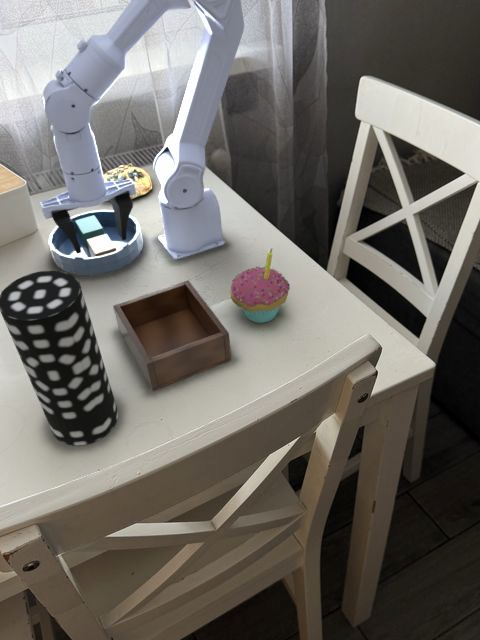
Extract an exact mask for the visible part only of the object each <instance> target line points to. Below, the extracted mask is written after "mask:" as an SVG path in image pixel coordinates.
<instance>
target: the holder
mask: <svg viewBox="0 0 480 640" xmlns="http://www.w3.org/2000/svg"><path fill="white" fill-rule="evenodd" d="M112 309H113V312H114V315H115V316H114V317H115V320H116V323H117V327H118V331H119V333H120V335H121V337H122V339H123V341H124V342H125V344H126V346H127V348H128V349H129V351H130V353H131V354H132V357H133V359H134V361H135V362H136V364H137V366H138V368H139V369H140V371H141V373H142V374H143V377H144V379H145V380H146V382H147V384H148V386H149V387H150V388H151V390H152V392H154V391H157V390H159V389H162V388H164V387H167V386H170V385H171V384H174V383H177V382H179V381H183V380H185V379H187V378H190V377H193V376H195V375H197V374H200V373H202V372H205V371H207V370H210V369H213V368H215V367H218V366H220V365H223V364H225V363H228V362H231V361H232V351H231V341H230V333H229V331H228V330H227V328H226V327H225V326H224V324H223V323H222V322H221V321H220V320H219V318H218V317H217V316H216V314H215V313H214V311H213V310H212V308H210V306H209V305H208V303H206V301H205V299H203V298H202V296H201V295H200V293H199V292H198V291H197V289H196V288H195V287H194V286H193V284H192V283H191V282H190V280H189V279H187V280H184V281H182V282H179V283H176V284H173V285H170V286H167V287H164V288H161V289H158V290H156V291H152V292H150V293H146V294H143V295H141V296H137V297H135V298H132V299H131V298H130V299H128V300H125V301H123V302H120V303H116V304H114V305H112Z"/></svg>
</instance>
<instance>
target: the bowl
mask: <svg viewBox="0 0 480 640" xmlns="http://www.w3.org/2000/svg"><path fill="white" fill-rule="evenodd" d="M93 215H94V216H95V217H96V219H97V220H98V222H99V223H100V225H101V226H102V228H103V231H104V234H107V235H108V237H109V238H110V240H111V241H112V243H113V244H114V246H115V247H116V251H115V252H112V253H108V254H105V255H102V256H95V257H92V256H91V255H90V251H89V248H88V249H87V248H86V246H85V244H84V243H83V241H82V239H81V238H80V236H79V233H78V230H77V226H76V223H75V220H79V219H83V218H86V217H90V216H93ZM70 218H71V219H72V221H73V224H74V229H75V234H76V238H77V240H78V243H79V246H80V248H81V253H78V254H77V253H76V251H75V249H74V247H73V244H72V242H71V241H70V239H69V238H68V237H67V235H66V234H65V233H64V232H63V231H62V230H61V229H60V228H59V227H58V226H57V225H56V226H55V227H54V228H53V229H52V231H51V232H50V233H49V235H48V241H47V243H48V247H49V250H50V253H51V256H52V260H53V261H54V263H55V265H56V266H57V267H58V268H59V269H61V271H63V272H66V273H69V274H71V275H79V276H97V275H103V274H109V273H113V272H115V271H118V270H120V269H122V268H124V267H126V266H128V265H130V264H131V263H133V262H134V261H135V260H136V259H137V258H138V257H139V256H140V254H141V253H142V251H143V248H144V239H143V235H142V229H141V225H140V223H139V221H138V220H137V218H136V217H134V216H133V215H131V214H130V215H129V219H128V223H127V232H126V238H127V239H125V240H122V238H121V237H120V236H119V233H118V230H117V225H116V218H115V213H114V210H113V209H99V210H98V209H97V210H90V211H85V212H82V213H78V214H75V215H73V216H70Z"/></svg>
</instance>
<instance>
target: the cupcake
mask: <svg viewBox="0 0 480 640" xmlns="http://www.w3.org/2000/svg"><path fill="white" fill-rule="evenodd" d="M266 255H267V256H266V261H265V266H264V267H261V266H255V267H250V268H247V269H245V270H242V271H241V272H239V273H238V274H237V275H235V277H234V278H233V279H232V280H231V281H232V282H231V285H230V299H231V301H232V302H233V303H234V304H235V305H236V306H238V307H239V308H241V309H242V311H243V313H244V315H245V317H246V318H247V319H248V320H249V321H251V322H254V323H260V324H263V323H268V322H270V321H272V320H274V319H275V318H276V316H277V314H278V312H279V309H280V307H281V306H282V305H284V304H285V303H286V302H287V299H288V296H289V291H290V288H291V285H290V283H289V281H288V280H287V279H286V276H284V275H283V274H282V273H280V272H279V271H277V270H275V269H274V268H271V266H272V259H273V247H271V248H270V251H267V254H266Z"/></svg>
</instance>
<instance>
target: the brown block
mask: <svg viewBox="0 0 480 640" xmlns="http://www.w3.org/2000/svg"><path fill="white" fill-rule="evenodd" d="M87 244H88V247H89V251H90V255H91V256H92V257H95V256H102V255H105V254H108V253H112V252H115V251H116V247H115V246H114V244H113V243H112V241H111V240H110V238H109V237H108V235H107V234H104V235H101V236H97V237H94V238H90V239H87Z"/></svg>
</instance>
